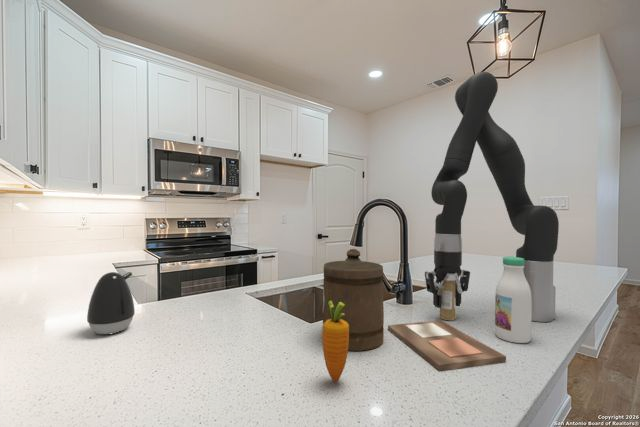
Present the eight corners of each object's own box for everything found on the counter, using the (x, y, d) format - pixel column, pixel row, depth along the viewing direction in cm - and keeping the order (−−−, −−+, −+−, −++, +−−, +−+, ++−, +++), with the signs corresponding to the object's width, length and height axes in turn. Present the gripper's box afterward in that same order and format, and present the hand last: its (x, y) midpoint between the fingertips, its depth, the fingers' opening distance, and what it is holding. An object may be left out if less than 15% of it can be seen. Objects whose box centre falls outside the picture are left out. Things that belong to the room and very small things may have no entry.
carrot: (320, 375, 60) (321, 297, 60) (346, 374, 60) (347, 296, 60) (323, 390, 55) (323, 305, 55) (351, 389, 55) (351, 304, 55)
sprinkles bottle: (458, 319, 91) (459, 273, 91) (449, 322, 89) (449, 274, 89) (445, 314, 95) (445, 270, 95) (435, 317, 93) (436, 272, 93)
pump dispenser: (144, 327, 84) (144, 270, 84) (103, 342, 74) (103, 278, 74) (119, 321, 88) (119, 267, 88) (78, 334, 79) (78, 274, 78)
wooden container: (349, 323, 88) (349, 244, 88) (395, 338, 77) (396, 249, 77) (310, 338, 77) (310, 249, 77) (357, 358, 67) (358, 255, 67)
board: (440, 324, 87) (440, 319, 87) (505, 361, 66) (506, 354, 66) (387, 329, 83) (387, 324, 83) (439, 371, 62) (439, 363, 62)
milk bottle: (525, 334, 81) (526, 256, 80) (535, 346, 73) (536, 260, 73) (492, 330, 83) (493, 254, 83) (498, 341, 76) (499, 259, 76)
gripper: (460, 247, 97) (459, 301, 97) (418, 248, 94) (418, 304, 94) (477, 250, 90) (477, 308, 90) (433, 251, 86) (433, 312, 87)
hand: (447, 306), depth 92 cm, fingers open, 5 cm apart
